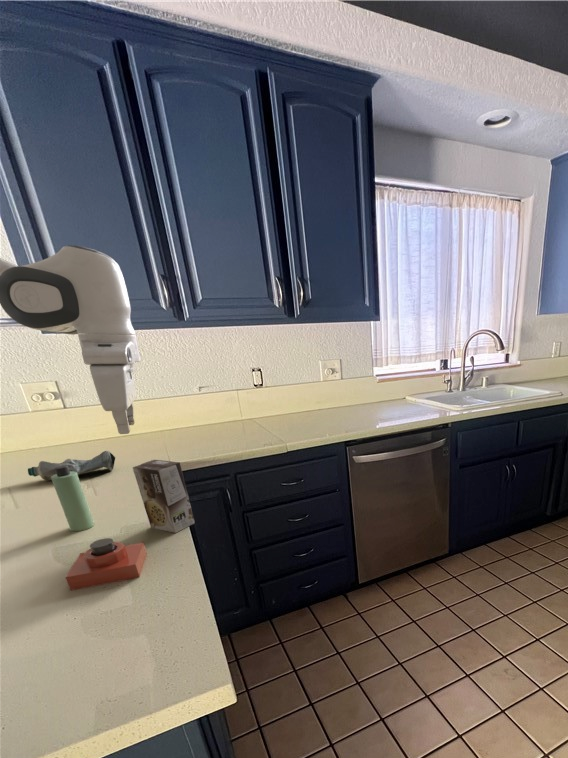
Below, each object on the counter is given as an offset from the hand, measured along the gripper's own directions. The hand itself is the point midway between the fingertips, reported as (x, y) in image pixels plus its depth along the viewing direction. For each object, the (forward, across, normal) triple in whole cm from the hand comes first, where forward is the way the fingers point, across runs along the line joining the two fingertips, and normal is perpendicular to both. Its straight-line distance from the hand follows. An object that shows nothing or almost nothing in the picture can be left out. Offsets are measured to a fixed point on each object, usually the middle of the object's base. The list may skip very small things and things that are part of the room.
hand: (127, 428), depth 82 cm
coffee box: (+28, -16, +3) cm, 32 cm away
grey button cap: (+24, +2, -8) cm, 25 cm away
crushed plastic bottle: (+28, -78, -28) cm, 88 cm away
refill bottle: (+28, -27, -18) cm, 43 cm away
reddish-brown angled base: (+28, +2, -8) cm, 30 cm away
